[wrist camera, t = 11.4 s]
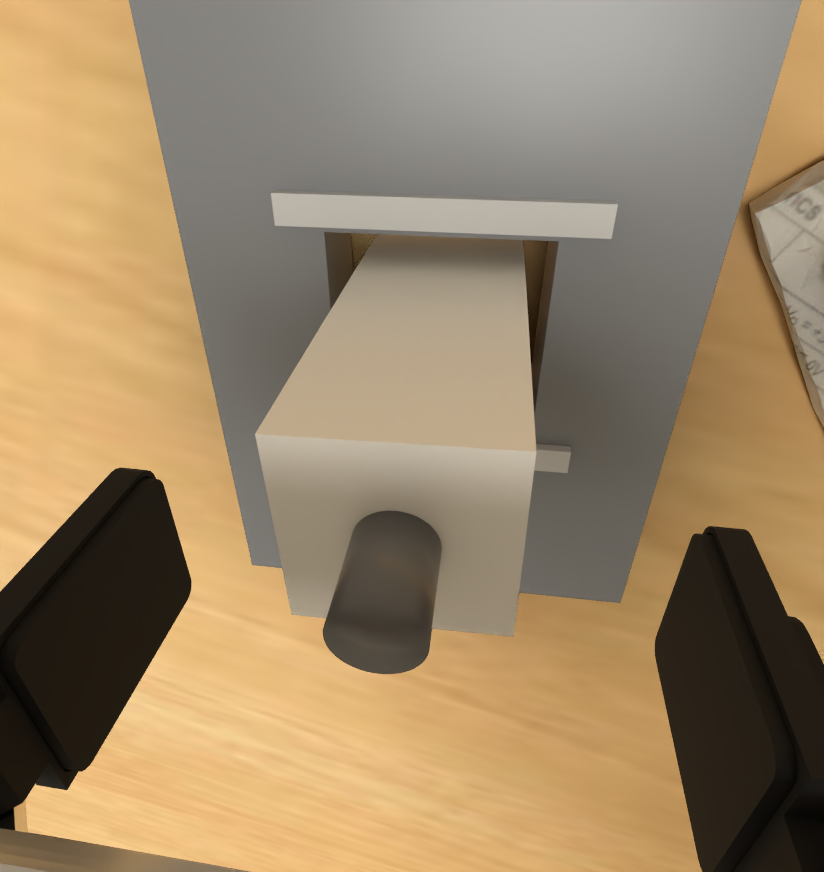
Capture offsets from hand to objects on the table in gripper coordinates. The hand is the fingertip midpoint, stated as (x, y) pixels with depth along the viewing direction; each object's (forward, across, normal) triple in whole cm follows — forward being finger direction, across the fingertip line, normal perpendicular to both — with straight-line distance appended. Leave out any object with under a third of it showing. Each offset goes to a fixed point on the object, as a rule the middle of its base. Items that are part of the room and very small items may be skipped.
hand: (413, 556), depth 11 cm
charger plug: (+11, 0, 0) cm, 11 cm away
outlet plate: (+11, +1, 0) cm, 11 cm away
